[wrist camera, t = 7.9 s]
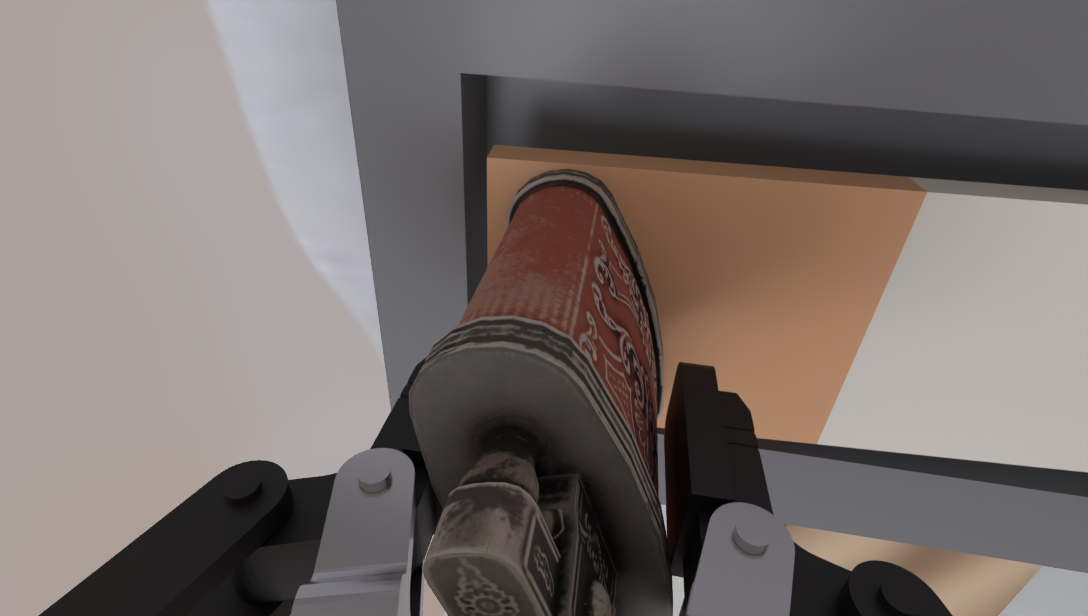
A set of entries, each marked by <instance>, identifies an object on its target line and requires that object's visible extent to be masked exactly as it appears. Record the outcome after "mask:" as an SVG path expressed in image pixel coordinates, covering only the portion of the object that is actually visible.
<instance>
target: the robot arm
mask: <svg viewBox="0 0 1088 616" xmlns="http://www.w3.org/2000/svg"><path fill="white" fill-rule="evenodd" d="M427 357H428V356H427ZM427 357H426V358H427ZM426 358H425V359H423V360H422V361H421V362H420V363H418V364H417V365H416V367H415V369H414V370H413V372H412V374H411V376H410V378H409V380H408V383H407V385H405V387H404V389H403V390H402V392H401V394H400V398H398V400H397V401H396V403H395V405H394V407H393V409H392V411H391V412H390V414H389V416H388V418H387V420H386V422H385V423H384V425H383V427H382V429H381V431H380V433H379V435H378V436H377V438H376V440H375V442H374V444H373V446H372V447H371V449H370V450H366V451H363V452H361V453H359V454H357V455H355V456H353V457H352V458H350V459H349V460H348V461H347V462H346V463H344V464H343V466H342V467H341V468H340V470H339V471H338V473H335V474H331V475H326V476H319V477H310V478H302V479H294V480H288V478H287V475H286V473H285V471H284V470H283V469H282V468H281V467H280V466H279V465H277V464H275V463H273V462H269V461H261V460H257V461H249V462H244V463H241V464H237V465H235V466H232V467H230V468H228V469H227V470H225V471H223V472H221V473H220V474H218V475H217V476H216V477H214V478H213V479H212V480H211V481H209V482H208V483H207V484H206V485H205V486H203V487H202V488H200V489H199V490H198V491H197V492H196V493H194V494H193V495H192V496H191V497H189V498H188V499H187V500H185V501H184V502H183V503H181V504H180V505H179V506H178V507H176V508H175V509H174V510H172V511H171V512H170V513H169V514H167V515H166V516H165V517H164V518H162V519H161V520H160V521H158V522H157V523H156V524H155V525H153V526H152V527H151V528H150V529H148V530H147V531H146V532H144V533H143V534H142V535H141V536H139V537H138V538H137V539H136V540H135V541H133V542H132V543H130V544H129V545H128V546H127V547H125V548H124V549H123V550H122V551H120V552H119V553H118V554H116V555H115V556H114V557H113V558H111V559H110V560H109V561H108V562H106V563H105V564H104V565H103V566H101V567H100V568H99V569H98V570H96V571H95V572H94V573H92V574H91V575H90V576H88V577H87V578H86V579H85V580H83V581H82V582H81V583H80V584H78V585H77V586H76V587H74V588H73V589H72V590H71V591H69V592H68V593H67V594H66V595H64V596H63V597H62V598H60V599H59V600H58V601H57V602H56V603H54V604H53V605H52V606H50V607H49V608H48V609H47V610H45V611H44V612H43V613H41V614H40V615H39V616H423V598H424V579H425V576H424V574H423V572H422V571H423V565H424V561H425V555H426V552H427V550H428V547H429V544H430V541H431V539H432V536H433V534H435V531H436V528H437V526H438V523H439V520H440V518H441V515H442V512H443V508H442V506H441V504H440V502H439V500H438V497H437V495H436V493H435V491H434V489H433V487H432V484H431V480H430V477H429V474H428V471H427V468H426V464H425V461H424V458H423V455H422V451H421V448H420V445H419V442H418V439H417V435H416V432H415V429H414V426H413V422H412V419H411V416H410V411H409V391H410V389H411V387H412V385H413V383H414V381H415V379H416V377H417V375H418V373H419V371H420V369H421V368H422V366H423V364H424V362H425V360H426ZM754 432H755V429H754V425H753V420H752V415H751V411H750V410H749V409H748V407H747V406H746V405H745V403H744V402H743V401H742V399H741V398H740V397H739V395H738V394H737V393H733V392H725V391H719V390H718V384H717V377H716V371H715V368H714V366H708V365H700V364H692V363H684V362H679V364H678V366H677V370H676V374H675V379H674V383H673V388H672V392H671V396H670V401H669V405H668V410H667V414H666V421H665V430H664V456H665V486H666V516H667V541H668V546H669V551H670V557H671V569H672V575H673V576H679V577H684V594H685V597H684V600H683V603H682V606H681V609H680V613H679V616H953V615H952V614H951V613H950V612H949V610H948V609H947V608H946V606H945V605H944V604H943V602H942V601H941V600H940V598H939V597H938V596H937V595H936V593H935V592H934V591H933V590H932V589H931V588H930V587H929V586H928V585H927V584H926V583H925V582H924V581H923V580H921V579H920V578H919V577H917V576H916V575H915V574H913V573H911V572H910V571H908V570H906V569H904V568H902V567H900V566H898V565H895V564H893V563H889V562H885V561H878V560H871V561H865V562H862V563H860V564H858V565H857V566H856V567H855V568H853V570H852V571H850V570H847V569H845V568H843V567H840V566H838V565H836V564H834V563H831V562H829V561H827V560H825V559H822V558H820V557H818V556H816V555H814V554H812V553H810V552H808V551H806V550H805V549H803V548H802V547H800V546H799V545H798V544H796V543H795V542H794V541H793V539H792V537H791V534H790V533H789V531H788V530H787V528H786V527H785V526H784V524H783V523H782V522H781V521H780V520H779V519H778V518H777V517H775V516H774V513H773V510H772V506H771V501H770V497H769V492H768V488H767V483H766V479H765V474H764V470H763V465H762V461H761V456H760V452H759V450H758V443H757V438H756V434H754Z"/></svg>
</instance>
